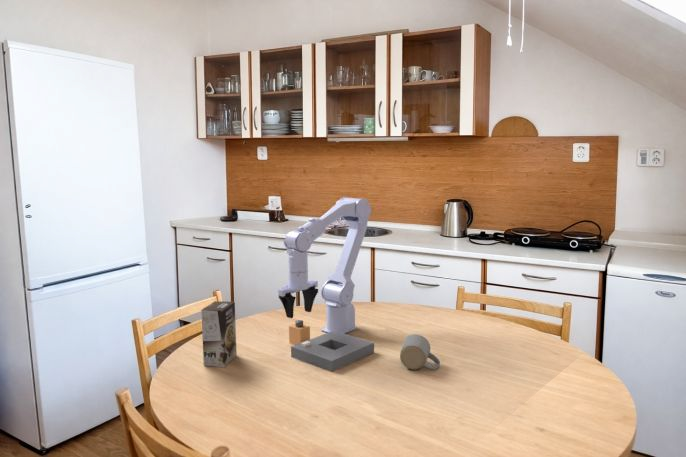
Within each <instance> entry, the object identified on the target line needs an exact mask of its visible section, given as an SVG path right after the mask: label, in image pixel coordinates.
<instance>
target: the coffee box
mask: <svg viewBox="0 0 686 457" xmlns="http://www.w3.org/2000/svg"><path fill="white" fill-rule="evenodd" d="M235 304H236V303H235V301H213V302H211V303H210V304H208V305H207V306H205V307H204V308H202V309H201V311H200V312H201V332H202V333H201V334H202V336H201V337H202V353H203V354H202V356H203V359H202V360H203V361H202V362H203V366H204V367H205V366H206V367H216V368H219V367H220V368H224V367H226V366H227V365H228V364H229V363H231V361H233V359H234V358H235V357H237V352H238V351H237V330H236V327H237V326H236V305H235Z"/></svg>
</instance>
